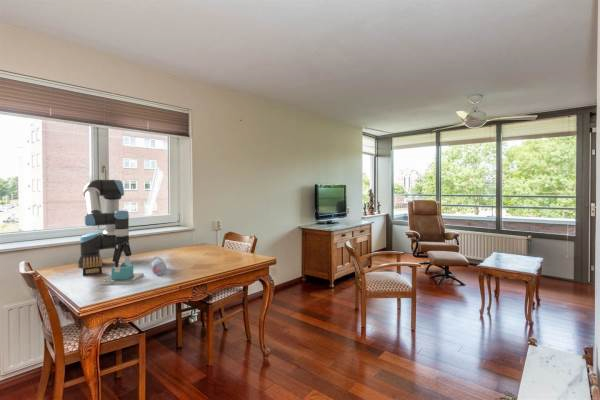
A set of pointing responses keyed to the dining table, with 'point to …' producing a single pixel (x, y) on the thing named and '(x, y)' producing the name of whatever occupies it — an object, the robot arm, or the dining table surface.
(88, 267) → the ammunition clip
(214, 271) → the dining table surface
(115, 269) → the robot arm
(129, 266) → the collar
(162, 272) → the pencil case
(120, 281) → the post stand
